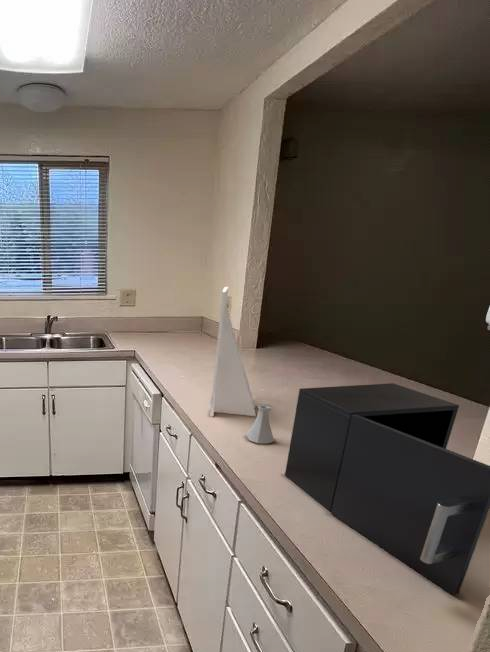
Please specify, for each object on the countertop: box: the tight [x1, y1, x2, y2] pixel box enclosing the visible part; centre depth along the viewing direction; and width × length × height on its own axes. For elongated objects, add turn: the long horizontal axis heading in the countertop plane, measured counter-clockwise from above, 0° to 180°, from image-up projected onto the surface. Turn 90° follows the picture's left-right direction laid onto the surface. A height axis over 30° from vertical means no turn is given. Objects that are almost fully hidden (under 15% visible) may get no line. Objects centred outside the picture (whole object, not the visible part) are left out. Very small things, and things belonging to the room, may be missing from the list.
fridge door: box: [330, 414, 490, 596], centre depth 74 cm, size 6×24×22 cm, turn 17°
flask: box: [246, 404, 275, 445], centre depth 123 cm, size 7×7×10 cm
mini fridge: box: [284, 382, 460, 513], centre depth 95 cm, size 16×24×22 cm, turn 99°
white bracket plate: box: [209, 286, 257, 418], centre depth 143 cm, size 20×14×40 cm
